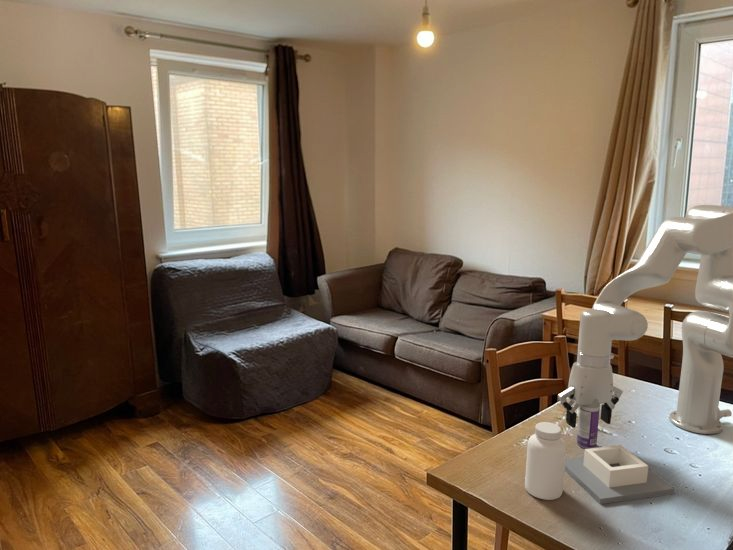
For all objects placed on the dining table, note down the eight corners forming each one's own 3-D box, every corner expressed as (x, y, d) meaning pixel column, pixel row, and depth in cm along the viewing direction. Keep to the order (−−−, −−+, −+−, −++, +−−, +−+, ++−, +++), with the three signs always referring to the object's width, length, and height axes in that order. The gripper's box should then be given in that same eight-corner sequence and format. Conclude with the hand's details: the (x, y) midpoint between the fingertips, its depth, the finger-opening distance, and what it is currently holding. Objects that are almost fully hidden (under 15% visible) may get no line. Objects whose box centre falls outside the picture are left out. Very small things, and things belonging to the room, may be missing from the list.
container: (593, 440, 141) (597, 386, 138) (598, 449, 137) (603, 393, 134) (574, 439, 142) (578, 385, 139) (579, 448, 137) (584, 392, 134)
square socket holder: (625, 456, 133) (627, 436, 132) (674, 493, 118) (676, 471, 117) (558, 464, 130) (560, 444, 129) (600, 504, 115) (601, 481, 114)
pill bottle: (558, 505, 114) (563, 439, 111) (520, 493, 118) (523, 429, 115) (566, 487, 121) (571, 424, 118) (530, 476, 125) (534, 415, 122)
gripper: (614, 351, 140) (609, 413, 143) (553, 356, 136) (549, 420, 140) (634, 361, 133) (628, 427, 136) (570, 367, 129) (565, 433, 133)
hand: (588, 423), depth 138 cm, fingers open, 9 cm apart
